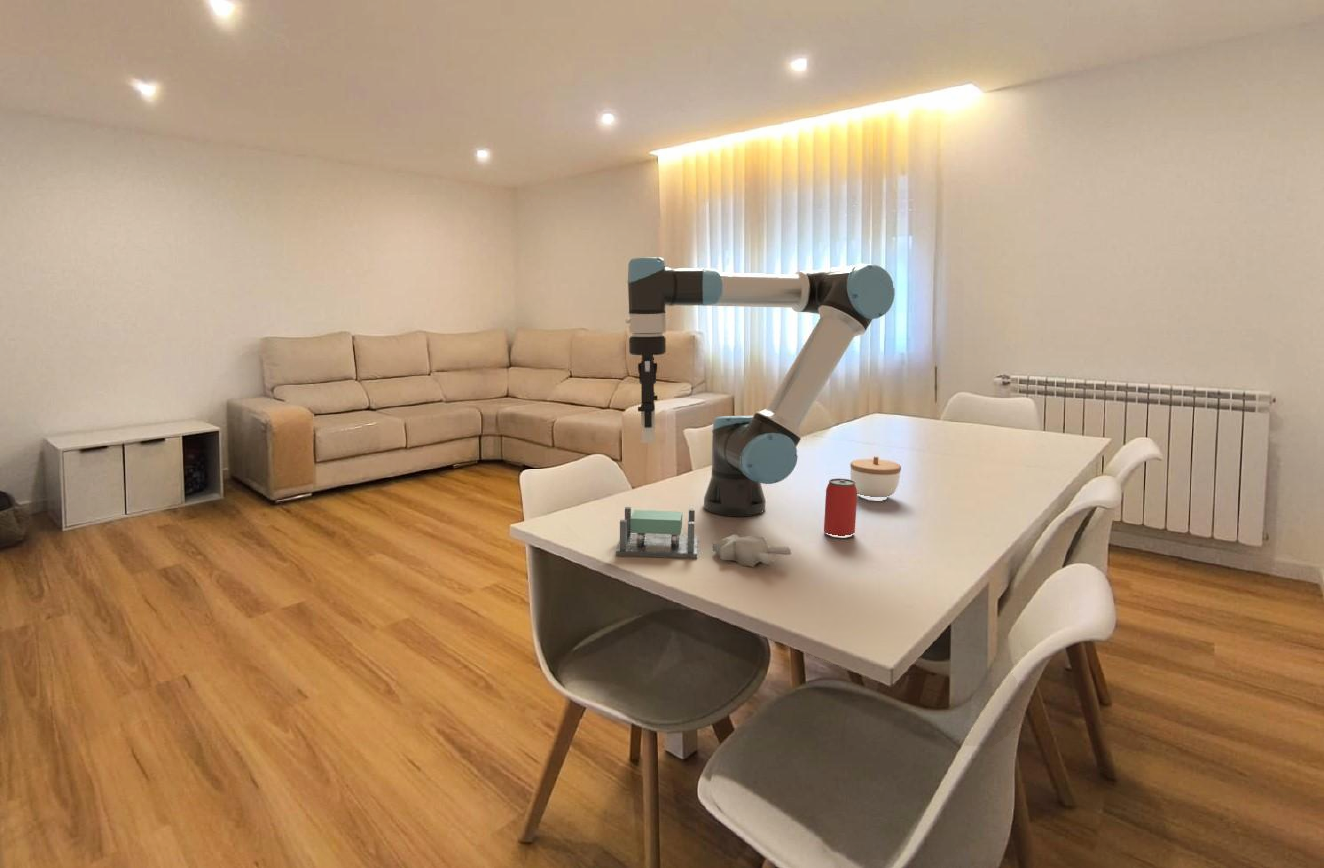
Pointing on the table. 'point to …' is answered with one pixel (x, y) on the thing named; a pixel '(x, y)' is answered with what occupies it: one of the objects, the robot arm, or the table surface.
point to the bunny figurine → (747, 550)
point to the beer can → (840, 507)
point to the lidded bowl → (875, 477)
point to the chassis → (657, 542)
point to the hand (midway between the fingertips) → (648, 436)
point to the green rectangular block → (656, 522)
